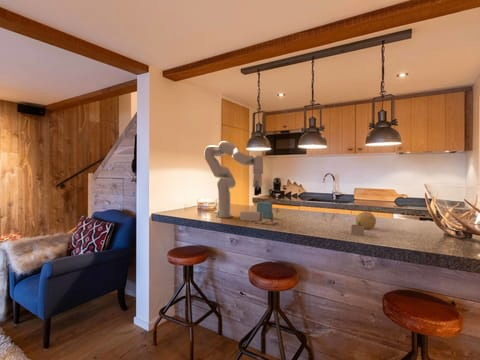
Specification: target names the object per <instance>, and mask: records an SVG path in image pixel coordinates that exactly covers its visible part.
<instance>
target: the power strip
mask: <svg viewBox="0 0 480 360" xmlns="http://www.w3.org/2000/svg"><path fill="white" fill-rule="evenodd" d="M239 215H240V216H239V220H240V221H245V220H246V222H248V221H249V222H256V221H258V220H260V212H257V211H243V210H242V211H240V213H239ZM263 219H264V218H263V212H262V220H263Z"/></svg>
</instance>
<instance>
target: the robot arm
mask: <svg viewBox="0 0 480 360" xmlns="http://www.w3.org/2000/svg"><path fill="white" fill-rule="evenodd" d="M239 150H240V149H239V147H237V146H235V145H234V143H233V142H231V141H227V140H222V141H220V142H219V144H218V145H208V146H206V147H205V148H204V151H203V156H204V160H205V161H206V163H207V165H208V166H209V168H210V170H211V172H212V174H213V176H214V178H217V179H218V180H217V182H216V183H217V192H218V210H214V211H213V212H214V214H216V217H217V218H222V219H223V218H231V217H233V214H232V213H231V192H230V189H234V188H235V186H236V184H237V183H236V179H235V178H234V176H233V174H232V172H231V170H230V169H229V168H228V167H227V166H224V165H223V166H222V165H221V163H220V162H219V160H218V159H217V157H221V156H222V157H223V156H225V155H228V156H230V157H231V158H232V159H233V160H235V162H238V163H239V164H241V165H243V166H252V174H253V177H252V178H253V183H252V186H253V188H254V189H253V191H254V192H253V195H254V196H257V197H258V196H259V195H262V186H263V177H262V176H263V175H264V156H263V155H258V154H256V155H249V154H244V153H242V152H241V151H239Z"/></svg>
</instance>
